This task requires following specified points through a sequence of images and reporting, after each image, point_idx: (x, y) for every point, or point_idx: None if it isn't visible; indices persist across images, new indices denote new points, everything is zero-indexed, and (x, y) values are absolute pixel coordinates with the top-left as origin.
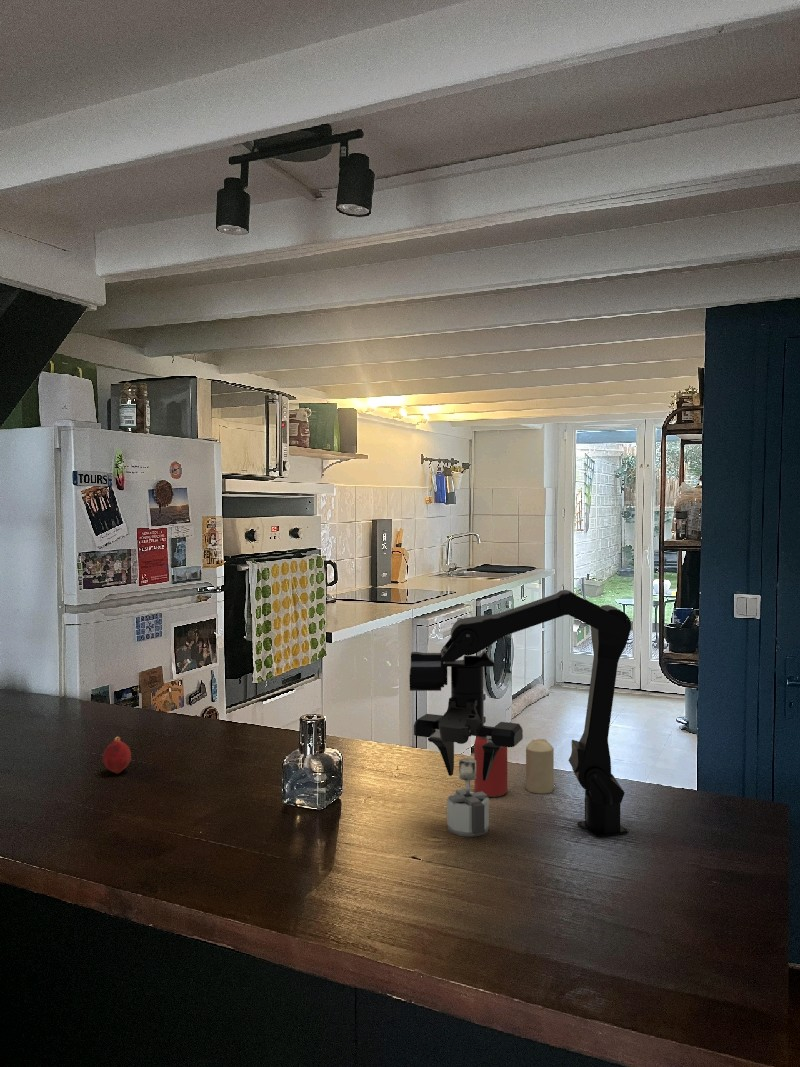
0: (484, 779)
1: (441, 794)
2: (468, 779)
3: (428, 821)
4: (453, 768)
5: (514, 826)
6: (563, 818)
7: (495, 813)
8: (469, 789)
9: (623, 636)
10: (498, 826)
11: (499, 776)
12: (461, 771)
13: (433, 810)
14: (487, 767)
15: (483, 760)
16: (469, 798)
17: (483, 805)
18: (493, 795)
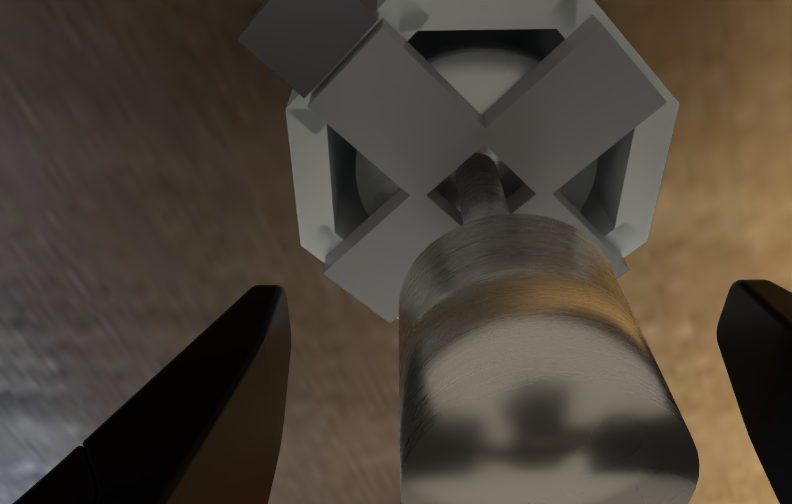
0: (259, 290)
1: (730, 445)
2: (466, 231)
3: (757, 88)
4: (740, 396)
5: (203, 229)
6: (37, 403)
7: (379, 343)
8: (467, 222)
9: None
10: (288, 193)
11: None
12: (596, 290)
13: (746, 258)
14: (139, 400)
15: (163, 491)
16: (439, 126)
17: (243, 32)
18: None
